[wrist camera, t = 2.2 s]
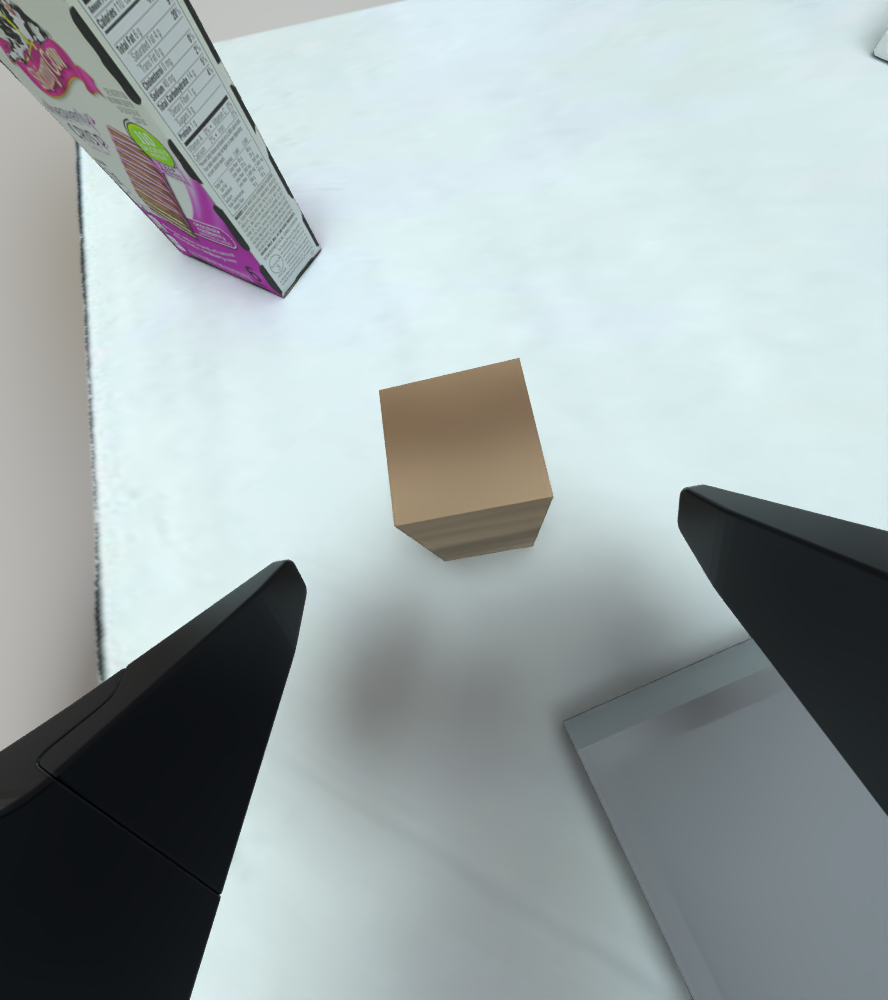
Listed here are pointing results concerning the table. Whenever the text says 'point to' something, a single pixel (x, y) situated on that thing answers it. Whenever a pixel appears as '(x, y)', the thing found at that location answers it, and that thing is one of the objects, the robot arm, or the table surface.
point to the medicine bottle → (882, 47)
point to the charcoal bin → (744, 832)
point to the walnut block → (466, 461)
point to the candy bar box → (163, 127)
